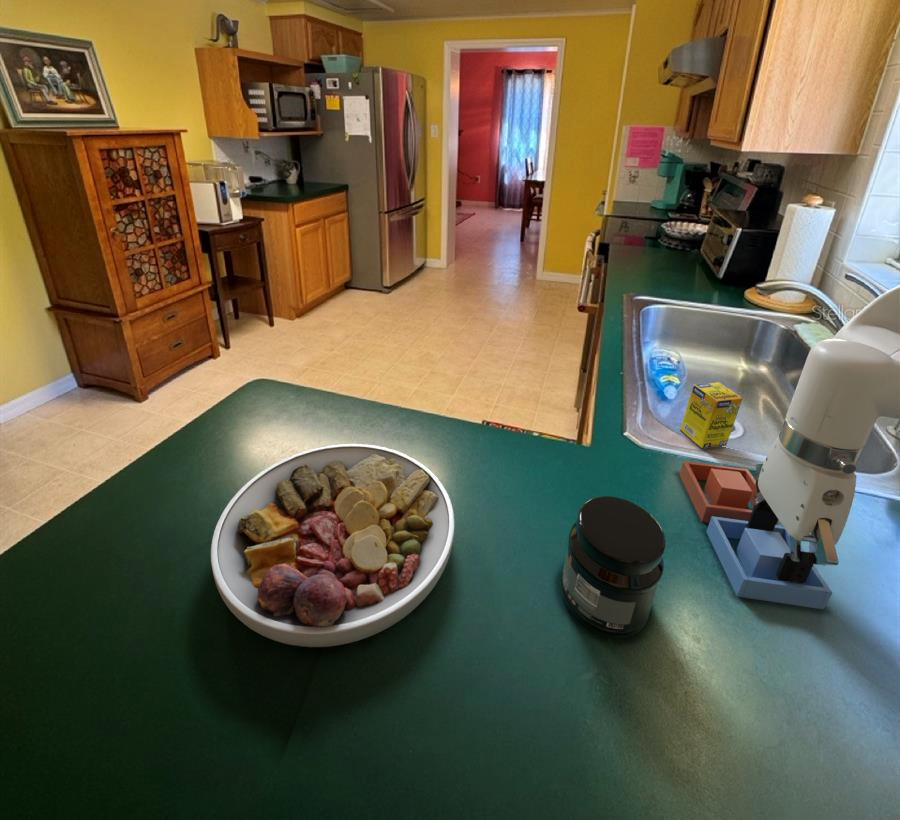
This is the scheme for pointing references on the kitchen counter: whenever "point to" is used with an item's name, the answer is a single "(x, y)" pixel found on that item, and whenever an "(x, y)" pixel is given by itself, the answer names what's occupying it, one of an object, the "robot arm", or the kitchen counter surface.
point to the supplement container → (613, 566)
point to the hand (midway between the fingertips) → (774, 552)
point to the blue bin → (757, 588)
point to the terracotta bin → (703, 508)
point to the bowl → (332, 544)
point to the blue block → (762, 553)
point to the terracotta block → (727, 489)
